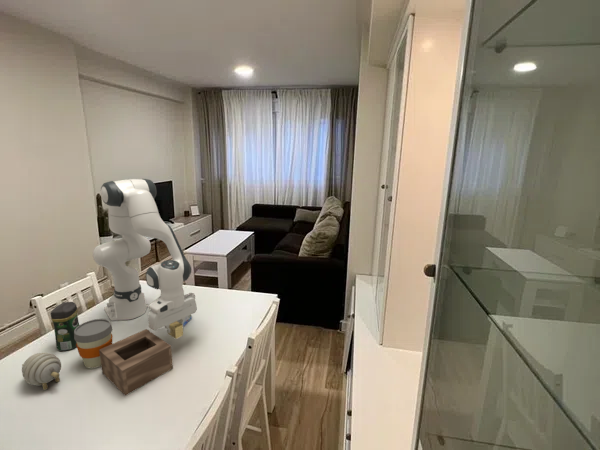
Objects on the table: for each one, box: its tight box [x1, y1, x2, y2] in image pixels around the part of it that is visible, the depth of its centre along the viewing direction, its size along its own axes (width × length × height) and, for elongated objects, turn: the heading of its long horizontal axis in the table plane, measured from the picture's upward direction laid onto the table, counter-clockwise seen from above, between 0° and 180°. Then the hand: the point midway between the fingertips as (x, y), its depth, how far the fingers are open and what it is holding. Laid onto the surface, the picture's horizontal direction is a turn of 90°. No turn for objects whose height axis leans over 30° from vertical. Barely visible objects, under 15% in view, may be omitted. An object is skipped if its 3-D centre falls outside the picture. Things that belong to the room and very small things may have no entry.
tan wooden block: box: [167, 321, 184, 340], centre depth 135 cm, size 6×4×5 cm, turn 53°
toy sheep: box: [21, 352, 62, 391], centre depth 115 cm, size 11×17×11 cm, turn 72°
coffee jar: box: [50, 301, 80, 352], centre depth 135 cm, size 10×8×19 cm
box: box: [99, 328, 174, 396], centre depth 122 cm, size 18×18×10 cm
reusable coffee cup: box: [74, 318, 113, 369], centre depth 127 cm, size 13×13×15 cm
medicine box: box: [177, 314, 193, 328], centre depth 156 cm, size 8×4×9 cm, turn 168°
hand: (175, 329), depth 135 cm, fingers closed on tan wooden block, 3 cm apart
